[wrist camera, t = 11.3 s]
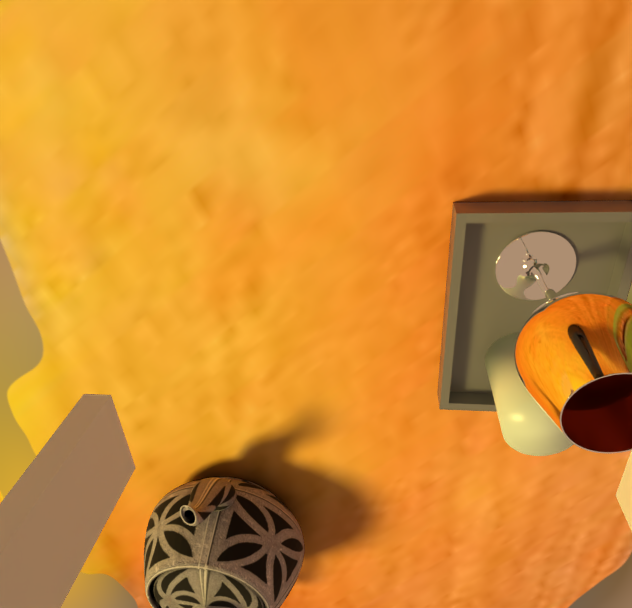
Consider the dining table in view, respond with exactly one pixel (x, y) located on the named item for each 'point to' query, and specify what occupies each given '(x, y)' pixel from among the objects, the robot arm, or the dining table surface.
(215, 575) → the teapot
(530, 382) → the wineglass
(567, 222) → the tray
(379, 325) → the dining table surface
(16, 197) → the dining table surface
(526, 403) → the cream rounded cylinder
